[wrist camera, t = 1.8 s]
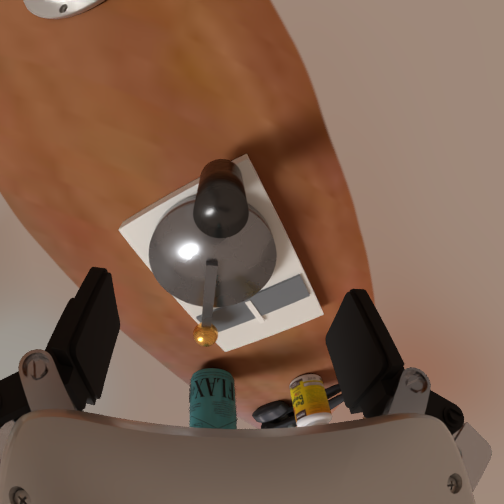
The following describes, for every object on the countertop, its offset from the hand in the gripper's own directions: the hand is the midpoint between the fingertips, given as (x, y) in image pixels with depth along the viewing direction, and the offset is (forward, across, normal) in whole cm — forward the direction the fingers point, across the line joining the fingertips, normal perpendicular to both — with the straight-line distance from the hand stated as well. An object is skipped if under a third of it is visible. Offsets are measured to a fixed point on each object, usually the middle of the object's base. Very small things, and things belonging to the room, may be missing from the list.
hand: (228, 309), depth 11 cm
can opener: (+17, -18, +39) cm, 46 cm away
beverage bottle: (+16, -1, +28) cm, 33 cm away
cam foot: (+14, 0, +6) cm, 15 cm away
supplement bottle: (+17, -16, +32) cm, 39 cm away
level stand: (+16, -2, +10) cm, 18 cm away
